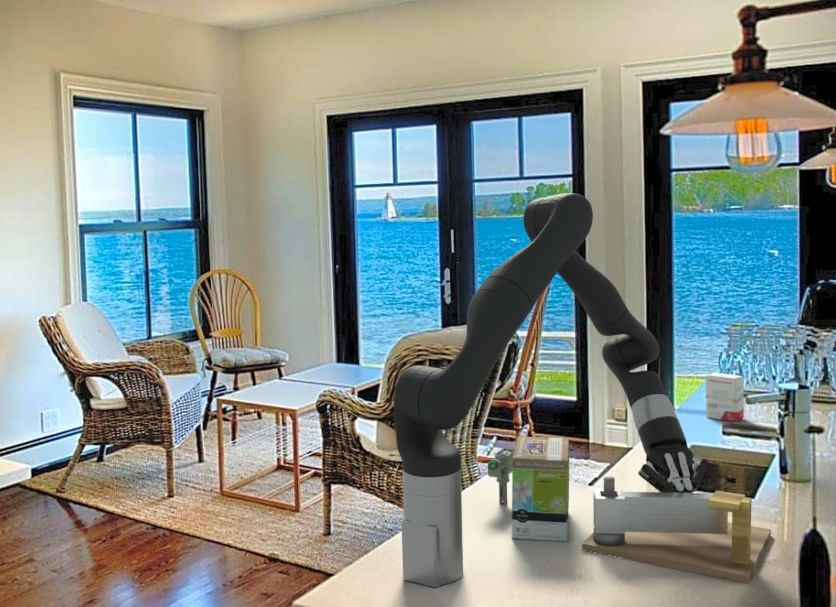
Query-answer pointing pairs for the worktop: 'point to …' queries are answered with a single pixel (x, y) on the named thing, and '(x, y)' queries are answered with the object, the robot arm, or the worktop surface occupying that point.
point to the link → (657, 513)
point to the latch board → (693, 542)
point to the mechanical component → (502, 470)
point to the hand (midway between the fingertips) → (690, 514)
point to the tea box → (540, 489)
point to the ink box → (724, 397)
